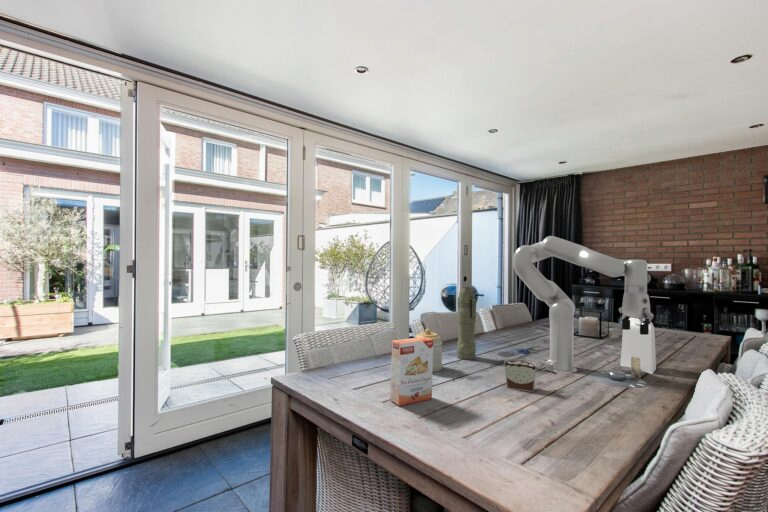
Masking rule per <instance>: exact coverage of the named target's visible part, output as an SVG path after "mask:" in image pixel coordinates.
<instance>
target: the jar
mask: <svg viewBox="0 0 768 512" xmlns="http://www.w3.org/2000/svg"><path fill="white" fill-rule="evenodd" d="M414 336H415V337H414V338H419V337H426V338H429V339H432V340H433V372H432V373H435V372H439V371H441V370H442V367H443V348H442V344H443V340H441V335H439V334H438V333H436V332H432V329H430V328H426V329H425V330H424V331H423V332H418V334H416V335H414Z"/></svg>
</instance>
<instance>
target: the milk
mask: <svg viewBox="0 0 768 512" xmlns="http://www.w3.org/2000/svg"><path fill="white" fill-rule="evenodd" d="M629 320H630V330H623V329H622V336H621V338H622V339H621V352H620V363H619V364H620V366H621V367H626V368H631V357H639V358H640V371H642V372H645V373H648V374H650V375H653V374H654V372H656V369H657V356H656V337H655V336H656V335H655V326H654V324H653V322H652V321H651V322H650V325H649V334H648V335H641V334H640V324H641V322H640V320H639V319H637V318H632V317H630V319H629ZM643 320H644V319H643Z"/></svg>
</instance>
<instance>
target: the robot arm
mask: <svg viewBox="0 0 768 512" xmlns="http://www.w3.org/2000/svg"><path fill="white" fill-rule="evenodd" d="M551 257H555V258H557V259H560V260H563V261H565V262H568V263H571V264H574V265H576V266H579V267H584V268H586V269H589V270H592V271H595V272H598V273H599V274H600V273H601V274H602V275H605V276H608V277H611V278H617V277H624V293H623V295H622V296H623V297H622V303H621V304H622V305H621V307H619V308H618V311H619V316H620V319H621V330H622V331H623V330H630V320H629V319H630V317H632V318H637V319H639V320H640V322H641V324H640V334H641V335H648V334H649V325H650V322H652V321H653V318H654V314H653V313H652V312H651V303H650V296H649V294H648V261H646V260H645V259H618V258H615V257H612V256H609V255H607V254H604V253H600V252H598V251H596V250H593V249H590V248H588V247H587V246H585V245H584V246H583V245H582V244H578V243H575V242H572V241H569V240H567V239H563V238H562V237H561V238H560V237H557V236H554V235H548V236H545V238H544V239H543V240H542V241H539V242H535V243H533V244H530V245H528V244H527V245H525V244H523V245H520V246H519V247H518V248H517V249H516V250H515V252H514V253H513V257H512V267H513V269H514V271H515V273H516V274H517V276H518V278H519V279H521V281H522V282H523V283H524V284H525V286H526V287H527V288H528V289H529V290H530V291H531V292H532V294H533V295H534V296H535V297H536V298H537V299H538V300H539V301H541V302H543V303H545V304H546V305H547V306H548V307H549V309H548V310H549V314H548V316H549V358H547V360H545V361H543V360H539V361H538V365H539V366H540V367H541V366H542V367H543V366H544V367H545V369H546V370H547V371H549V372H551V373H555V374H557V372H560V373H562V372H563V373H575V372H577V371H578V369H577V368H576V367H574V333H575V332H574V314H575V312H576V306H575V304H574V302H573V301H572V299H571V298H570V297H569V296H568V295H567V294H566V293H565V292H564V291H563V290H562V289H561V287H559V285H558V284H556V282H554V281H552V280H549V279H547V278H546V277H545V276H544V275H543V274H542V272H541V271H540V270H539V269H538V268H537V267H536V266H535V265H534V263H536V262H539V261H543V260H545V259H547V258H549V259H550V258H551ZM643 319H644V320H643Z"/></svg>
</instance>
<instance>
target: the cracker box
mask: <svg viewBox="0 0 768 512" xmlns="http://www.w3.org/2000/svg"><path fill="white" fill-rule="evenodd" d="M390 361H391V363H390V369H391V370H390V402H392V403H394V404H395V405H397V406H398V407H400V406H406V405H410V404H415V403H419V402H423V401H424V402H425V401H428V400H431V399H433V373H434V372H433V340H432V339H429V338H426V337H419V338H416V337H412V338H401V339H395V340H394V339H393V340H392V341H391V360H390Z"/></svg>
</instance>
